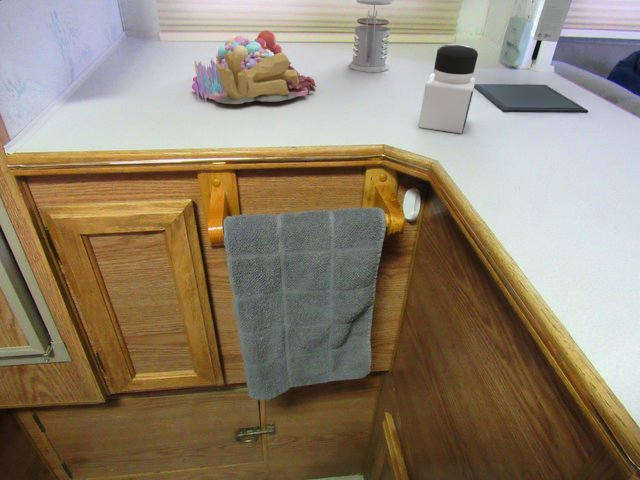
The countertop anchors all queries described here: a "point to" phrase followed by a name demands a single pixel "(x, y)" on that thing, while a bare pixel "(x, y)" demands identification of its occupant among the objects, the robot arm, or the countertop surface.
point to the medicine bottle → (449, 89)
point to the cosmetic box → (550, 20)
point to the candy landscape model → (250, 73)
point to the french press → (371, 41)
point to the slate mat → (527, 98)
